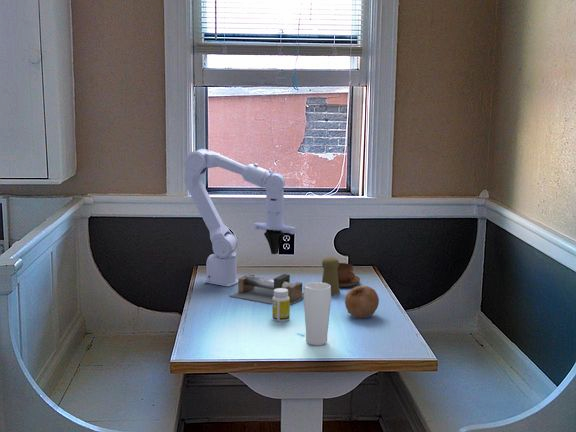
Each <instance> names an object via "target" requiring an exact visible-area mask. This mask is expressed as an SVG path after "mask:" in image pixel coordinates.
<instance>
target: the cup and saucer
mask: <svg viewBox="0 0 576 432" xmlns="http://www.w3.org/2000/svg"><path fill="white" fill-rule="evenodd" d="M337 273H338V282H339V288H341V287H345V288H346V287H353V286H355V285H357V284H358V283H359V282H361V281H360V280H361V278H360V277H359V276H357V275H355V273H354V266H353V264H350V263H346V262H339V267H338V268H337Z"/></svg>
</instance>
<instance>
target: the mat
mask: <svg viewBox="0 0 576 432" xmlns="http://www.w3.org/2000/svg"><path fill="white" fill-rule="evenodd" d="M273 296H274V290H271V289H266V288H260V287H254V289H252V290H250V291H248V292H246V293H244V294H242V293H238V292H235V293H233V294H230V295H229V297H230V298H235V299H241V300H245V301H246V300H247V301H251V302H257V303H263V304H267V305H272V298H273ZM301 300H304V292H302V298H300V299H298V300H296V301H294V302H292V303H291V302H290V306H292V305H294V304H295V303H298V302H300V301H301Z"/></svg>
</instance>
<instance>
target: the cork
mask: <svg viewBox="0 0 576 432" xmlns="http://www.w3.org/2000/svg"><path fill="white" fill-rule="evenodd" d="M321 263H322V264H321V266H322V269H323V273H322V279H321V282H323V283H327V284H329V285H330V286H331V296H337V295H339V294H340V292H341V291H340V287H339V282H338V273H337V268H338V267H339V263H340V262H339V259H338V258H336V257H325V258H323V260H322V261H321Z"/></svg>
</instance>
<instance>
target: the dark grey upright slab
mask: <svg viewBox="0 0 576 432" xmlns="http://www.w3.org/2000/svg"><path fill="white" fill-rule="evenodd" d="M290 276H291V274H287V273H283V274H281V275H279V276H277V277H274V278H273V280H274V289H277V288H281V285H282V282H283V281H286V282H289V283H291V282H290V281H291V280H290V279H291V277H290Z"/></svg>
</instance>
